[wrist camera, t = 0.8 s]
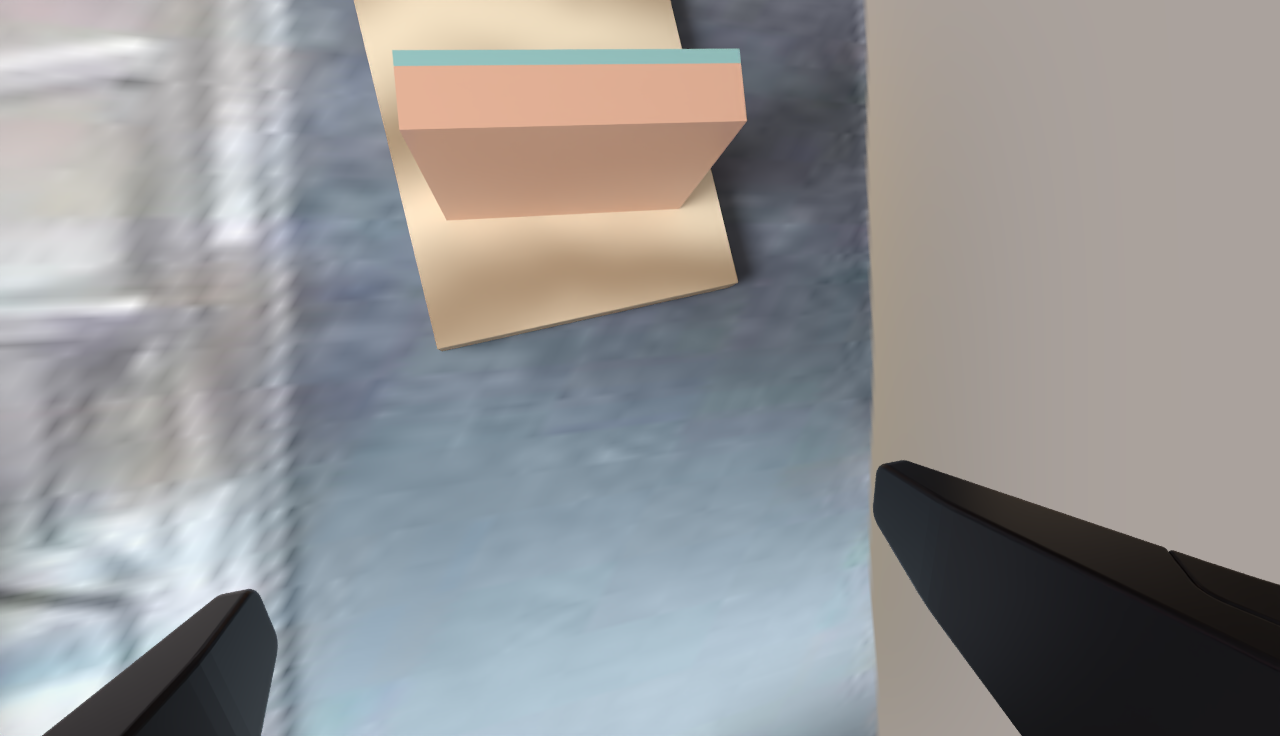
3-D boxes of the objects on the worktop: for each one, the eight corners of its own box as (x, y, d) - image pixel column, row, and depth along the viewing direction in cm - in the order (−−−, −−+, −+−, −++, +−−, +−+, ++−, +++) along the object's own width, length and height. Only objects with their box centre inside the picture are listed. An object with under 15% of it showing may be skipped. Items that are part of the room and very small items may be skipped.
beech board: (728, 287, 26) (738, 282, 25) (442, 351, 24) (437, 348, 23) (649, -45, 26) (654, -66, 25) (356, -10, 24) (346, -31, 23)
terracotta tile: (679, 209, 24) (746, 121, 17) (446, 220, 23) (399, 130, 15) (674, 159, 24) (739, 48, 17) (442, 167, 23) (392, 50, 15)
